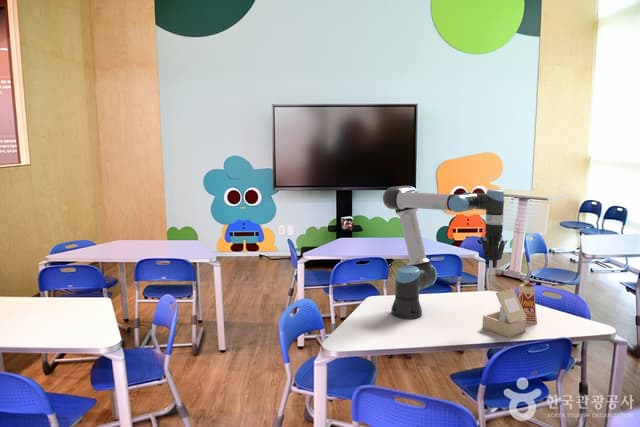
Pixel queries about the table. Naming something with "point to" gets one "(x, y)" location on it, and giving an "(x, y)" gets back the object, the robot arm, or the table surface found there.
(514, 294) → the lid
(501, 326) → the box
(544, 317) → the table surface
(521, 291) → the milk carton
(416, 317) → the robot arm
